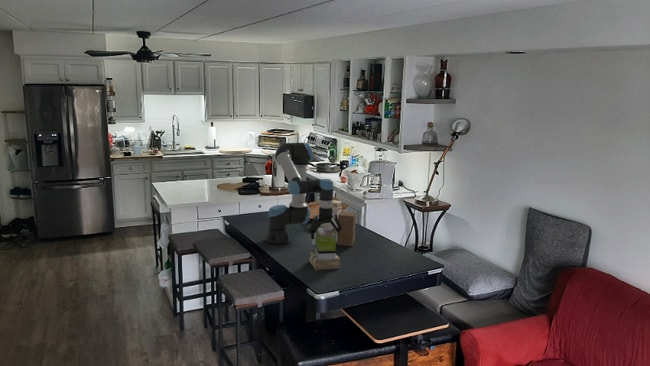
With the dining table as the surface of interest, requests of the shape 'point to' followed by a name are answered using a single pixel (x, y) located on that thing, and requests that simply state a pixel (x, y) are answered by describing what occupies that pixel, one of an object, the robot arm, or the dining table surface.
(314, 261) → the birch plinth
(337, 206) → the coffeecake box
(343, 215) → the wooden block
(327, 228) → the tea box
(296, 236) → the dining table surface
